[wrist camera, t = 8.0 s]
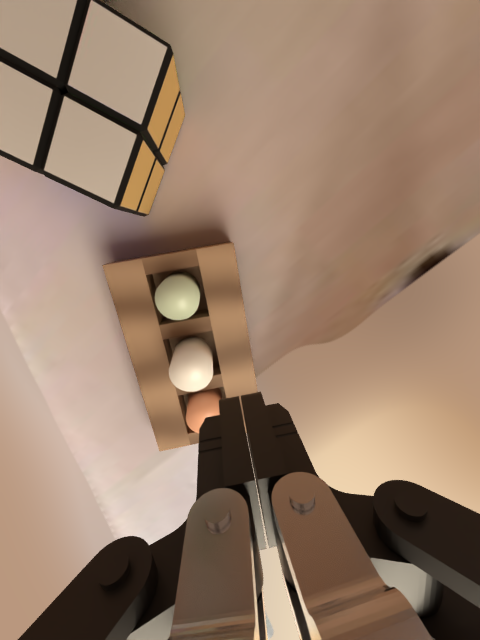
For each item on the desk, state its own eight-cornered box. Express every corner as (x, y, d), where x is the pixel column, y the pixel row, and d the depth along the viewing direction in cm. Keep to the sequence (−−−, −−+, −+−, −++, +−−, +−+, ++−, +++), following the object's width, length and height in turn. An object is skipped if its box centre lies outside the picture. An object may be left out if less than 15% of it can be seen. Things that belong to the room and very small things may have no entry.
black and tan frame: (41, 168, 26) (-55, 130, 16) (74, 48, 24) (-16, -77, 14) (148, 218, 28) (117, 210, 19) (186, 113, 26) (174, 43, 16)
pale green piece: (157, 275, 29) (149, 281, 25) (196, 268, 29) (194, 273, 25) (166, 312, 30) (160, 323, 26) (203, 305, 30) (203, 315, 27)
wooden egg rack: (114, 261, 29) (102, 265, 25) (230, 241, 29) (233, 242, 26) (164, 430, 35) (159, 451, 32) (258, 411, 36) (263, 429, 33)
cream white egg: (169, 340, 29) (164, 357, 25) (208, 333, 29) (208, 348, 25) (178, 375, 30) (174, 395, 26) (215, 367, 30) (216, 387, 27)
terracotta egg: (185, 385, 33) (182, 405, 29) (219, 379, 33) (220, 397, 29) (192, 414, 34) (190, 437, 30) (224, 407, 34) (227, 429, 30)
